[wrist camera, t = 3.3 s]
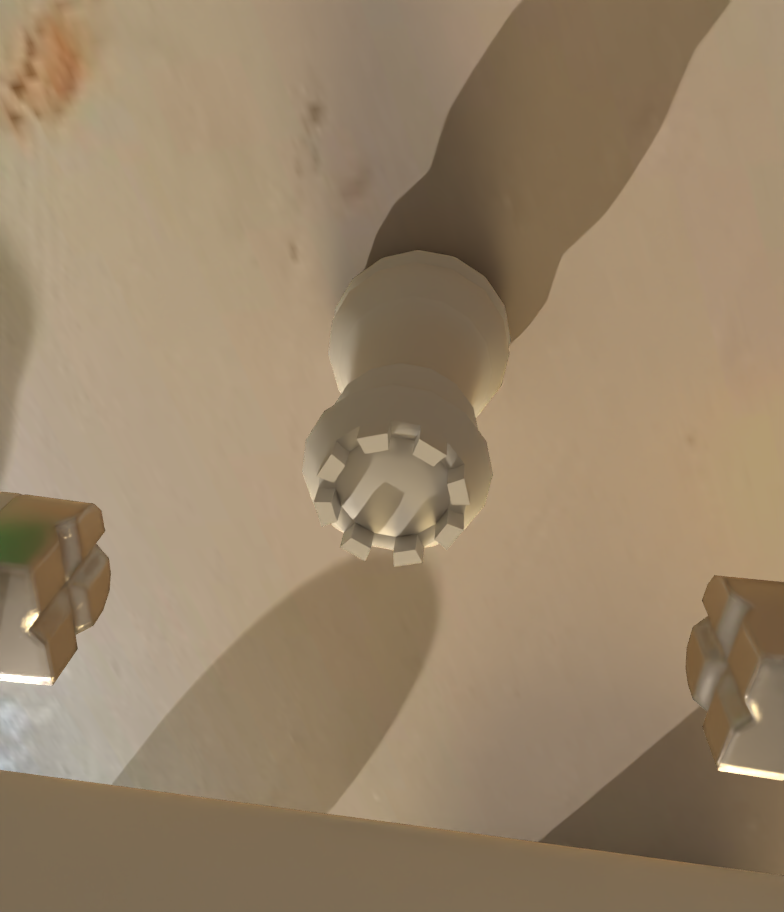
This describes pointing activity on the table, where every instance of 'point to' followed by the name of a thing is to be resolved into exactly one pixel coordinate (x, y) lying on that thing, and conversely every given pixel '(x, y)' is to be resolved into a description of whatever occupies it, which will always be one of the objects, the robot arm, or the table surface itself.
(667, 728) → the table surface
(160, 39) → the table surface
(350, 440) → the rook chess piece
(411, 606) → the table surface
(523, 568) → the table surface
